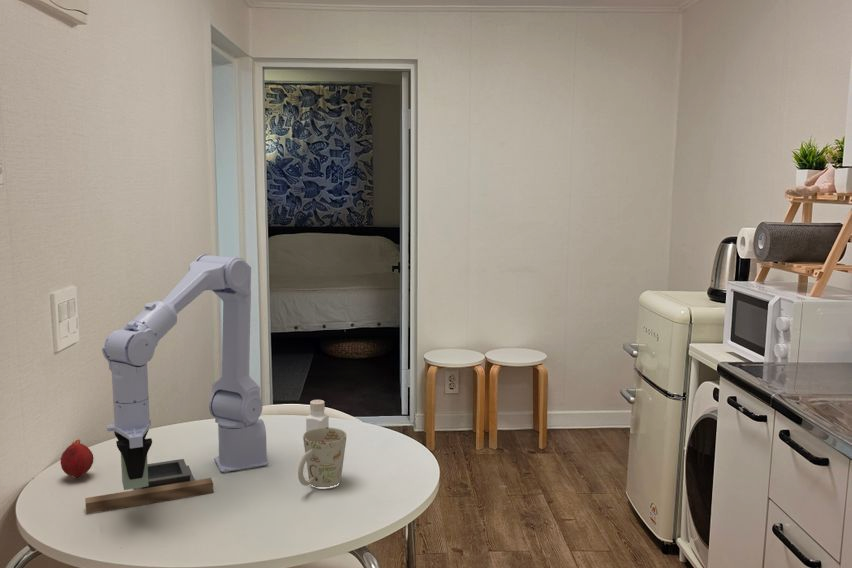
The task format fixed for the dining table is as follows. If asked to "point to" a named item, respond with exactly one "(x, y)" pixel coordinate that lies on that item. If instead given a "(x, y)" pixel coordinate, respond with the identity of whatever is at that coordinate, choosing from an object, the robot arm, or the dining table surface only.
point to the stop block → (134, 482)
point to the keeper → (168, 473)
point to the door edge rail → (148, 495)
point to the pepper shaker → (317, 416)
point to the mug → (323, 457)
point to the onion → (76, 459)
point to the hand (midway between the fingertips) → (134, 473)
